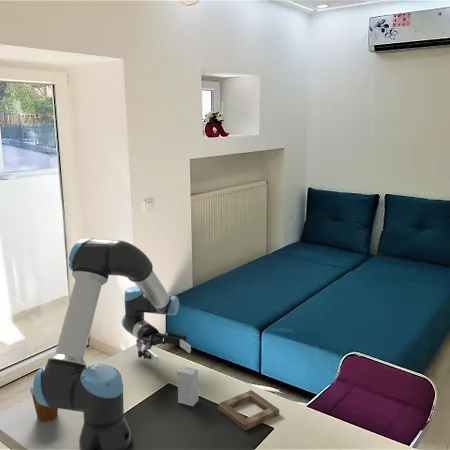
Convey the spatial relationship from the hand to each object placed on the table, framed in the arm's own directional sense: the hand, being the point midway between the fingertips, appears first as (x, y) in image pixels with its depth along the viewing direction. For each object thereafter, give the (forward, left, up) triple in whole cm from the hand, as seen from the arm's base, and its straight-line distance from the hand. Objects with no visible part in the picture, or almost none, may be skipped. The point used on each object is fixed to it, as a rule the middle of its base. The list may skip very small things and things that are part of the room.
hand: (173, 354), depth 176 cm
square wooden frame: (+12, -27, -13) cm, 33 cm away
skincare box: (-1, -10, -14) cm, 17 cm away
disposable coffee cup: (-43, +10, -14) cm, 46 cm away
